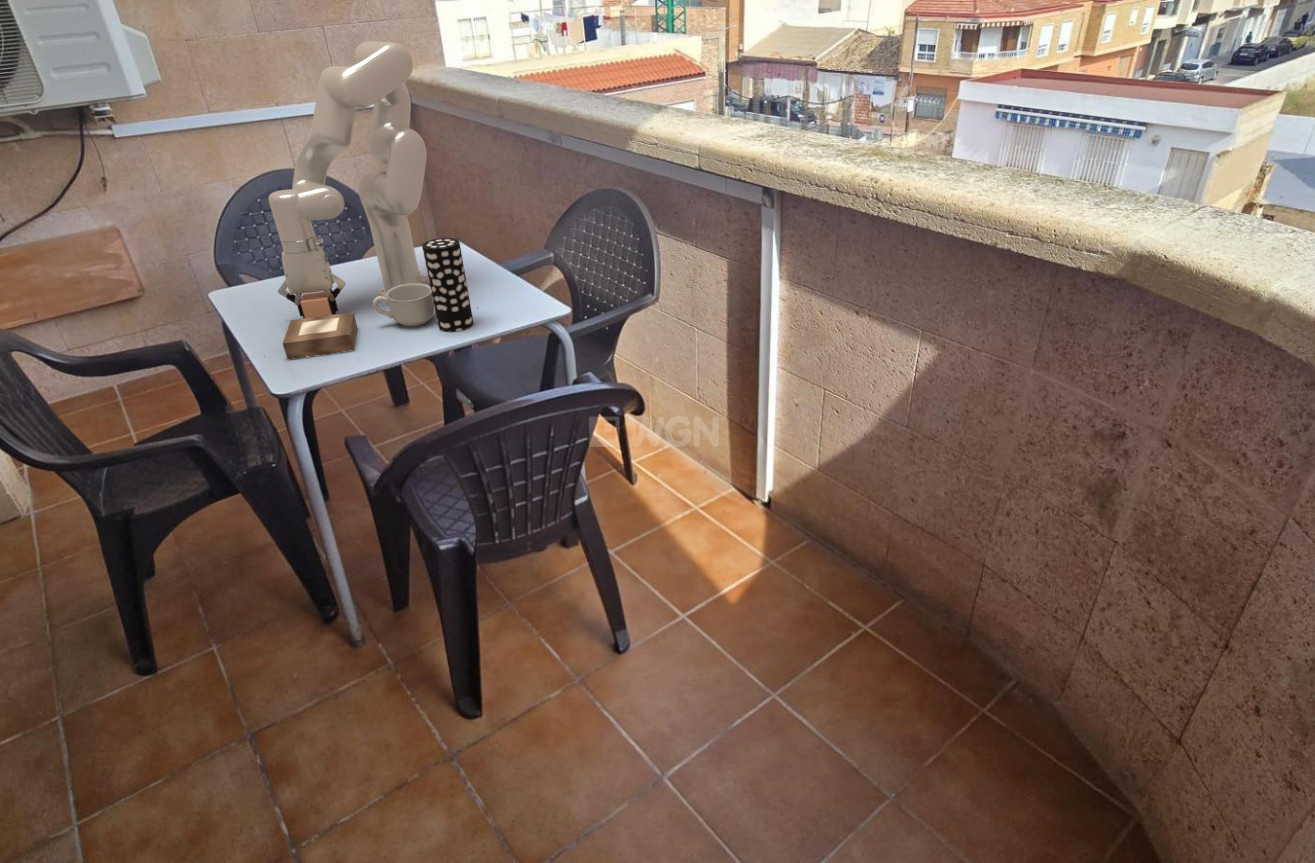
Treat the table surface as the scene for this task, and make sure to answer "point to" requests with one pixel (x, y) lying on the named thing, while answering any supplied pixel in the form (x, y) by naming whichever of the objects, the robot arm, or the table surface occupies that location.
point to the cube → (315, 305)
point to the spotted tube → (448, 284)
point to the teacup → (408, 304)
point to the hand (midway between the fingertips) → (320, 315)
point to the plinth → (320, 335)
